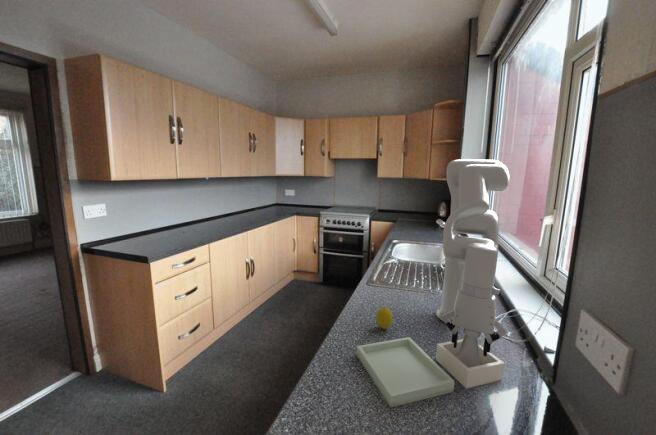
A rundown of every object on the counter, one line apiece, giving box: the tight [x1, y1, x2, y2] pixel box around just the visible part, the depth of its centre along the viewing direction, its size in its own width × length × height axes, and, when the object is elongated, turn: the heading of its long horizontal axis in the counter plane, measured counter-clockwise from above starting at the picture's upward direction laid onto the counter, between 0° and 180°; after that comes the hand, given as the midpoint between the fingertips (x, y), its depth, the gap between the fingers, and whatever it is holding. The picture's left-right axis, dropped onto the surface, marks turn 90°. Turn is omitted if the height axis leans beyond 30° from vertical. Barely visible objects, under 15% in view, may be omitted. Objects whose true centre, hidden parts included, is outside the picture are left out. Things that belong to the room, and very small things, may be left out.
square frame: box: [435, 338, 505, 389], centre depth 81 cm, size 12×12×5 cm
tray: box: [356, 336, 456, 408], centre depth 79 cm, size 18×20×3 cm
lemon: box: [375, 307, 393, 330], centre depth 100 cm, size 6×6×8 cm
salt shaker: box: [457, 328, 482, 368], centre depth 80 cm, size 6×6×13 cm
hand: (469, 348), depth 80 cm, fingers open, 6 cm apart
